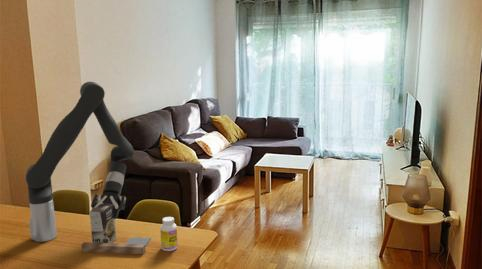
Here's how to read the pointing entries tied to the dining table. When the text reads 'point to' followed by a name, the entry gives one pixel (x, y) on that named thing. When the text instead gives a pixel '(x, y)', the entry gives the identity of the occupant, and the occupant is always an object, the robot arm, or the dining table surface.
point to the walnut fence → (113, 248)
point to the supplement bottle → (168, 234)
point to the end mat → (138, 241)
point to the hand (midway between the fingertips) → (104, 218)
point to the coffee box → (103, 224)
